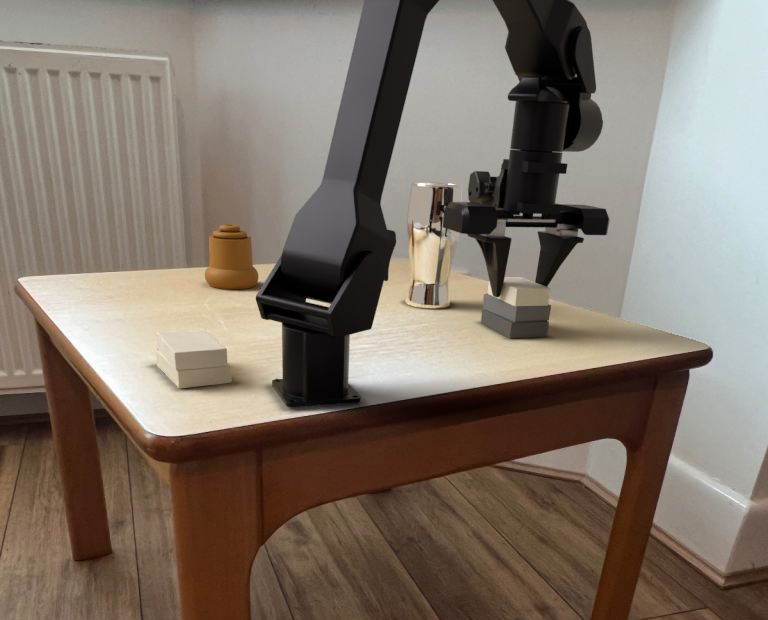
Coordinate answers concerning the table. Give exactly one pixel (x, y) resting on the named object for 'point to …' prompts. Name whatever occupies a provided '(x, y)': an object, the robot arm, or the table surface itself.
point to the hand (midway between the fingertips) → (517, 296)
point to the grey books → (515, 318)
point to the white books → (192, 358)
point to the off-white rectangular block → (522, 292)
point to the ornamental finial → (230, 259)
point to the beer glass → (430, 243)
